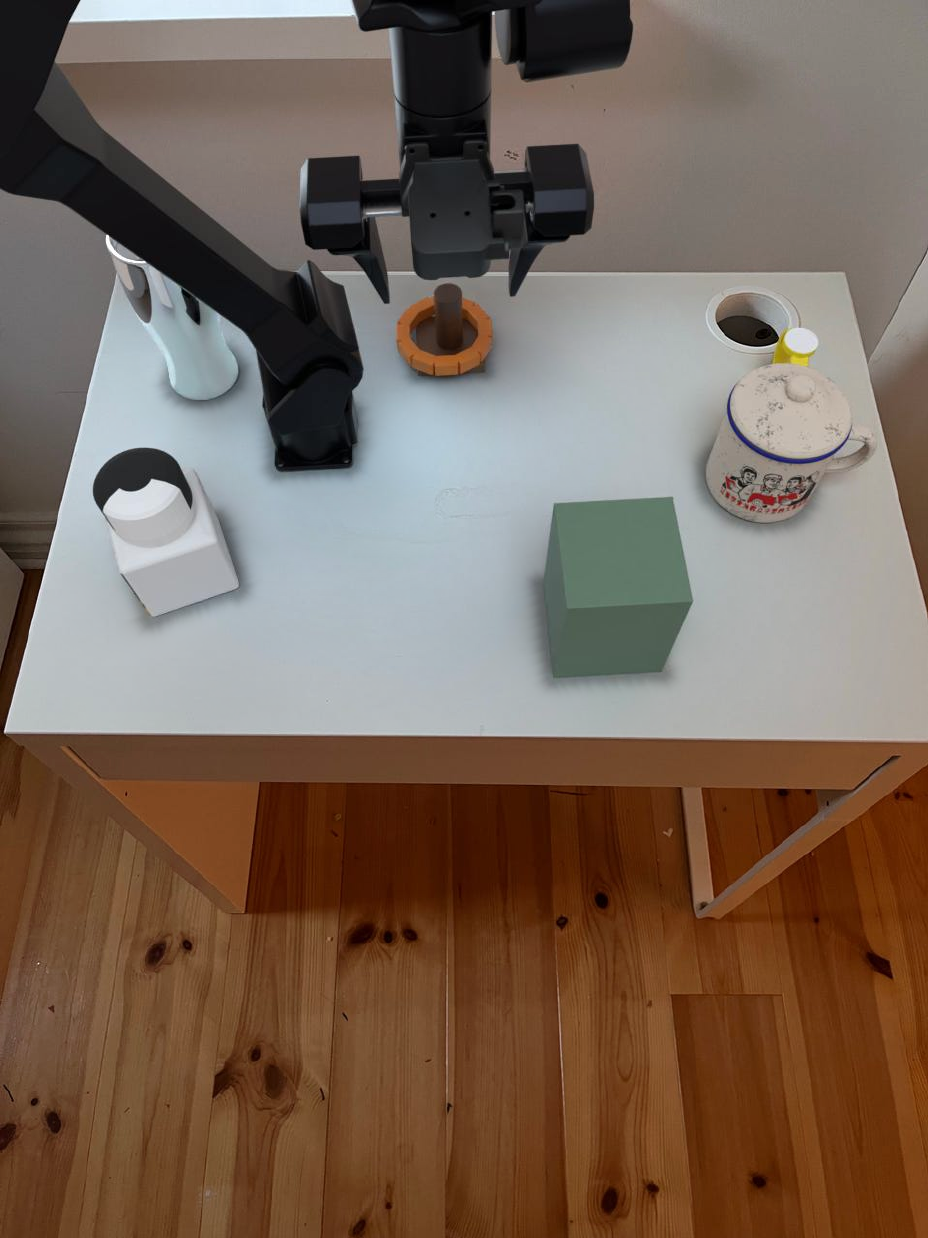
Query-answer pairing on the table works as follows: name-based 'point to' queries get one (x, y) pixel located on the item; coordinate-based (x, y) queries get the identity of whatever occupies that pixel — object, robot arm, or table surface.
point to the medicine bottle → (163, 530)
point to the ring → (448, 362)
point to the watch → (795, 346)
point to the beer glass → (177, 327)
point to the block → (614, 586)
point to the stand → (447, 327)
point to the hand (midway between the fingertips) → (449, 296)
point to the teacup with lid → (781, 441)
